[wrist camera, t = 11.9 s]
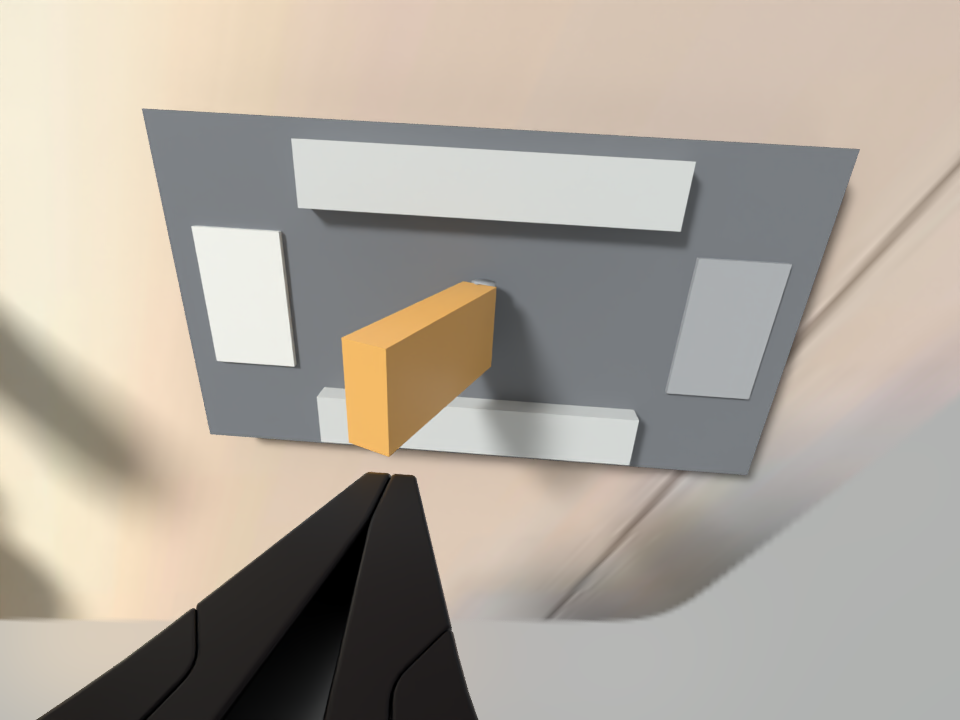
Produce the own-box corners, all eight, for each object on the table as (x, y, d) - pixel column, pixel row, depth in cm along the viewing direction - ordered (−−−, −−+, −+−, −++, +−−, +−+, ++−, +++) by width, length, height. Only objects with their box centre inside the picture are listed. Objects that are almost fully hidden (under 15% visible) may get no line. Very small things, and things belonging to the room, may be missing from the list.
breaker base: (827, 149, 16) (878, 149, 14) (730, 451, 21) (756, 487, 18) (174, 111, 16) (123, 106, 14) (230, 414, 21) (199, 444, 19)
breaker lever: (504, 282, 16) (386, 348, 10) (499, 359, 17) (388, 456, 11) (472, 276, 16) (341, 337, 11) (469, 352, 17) (349, 442, 12)
